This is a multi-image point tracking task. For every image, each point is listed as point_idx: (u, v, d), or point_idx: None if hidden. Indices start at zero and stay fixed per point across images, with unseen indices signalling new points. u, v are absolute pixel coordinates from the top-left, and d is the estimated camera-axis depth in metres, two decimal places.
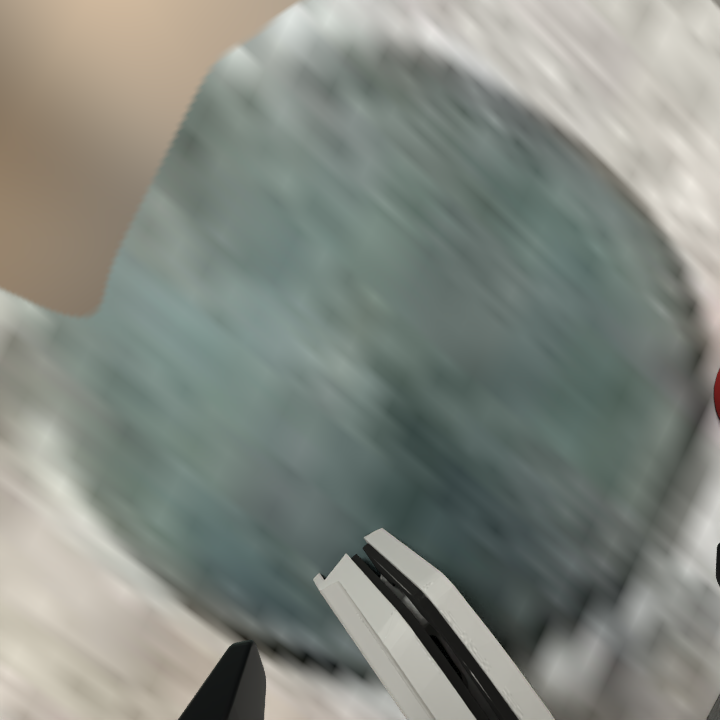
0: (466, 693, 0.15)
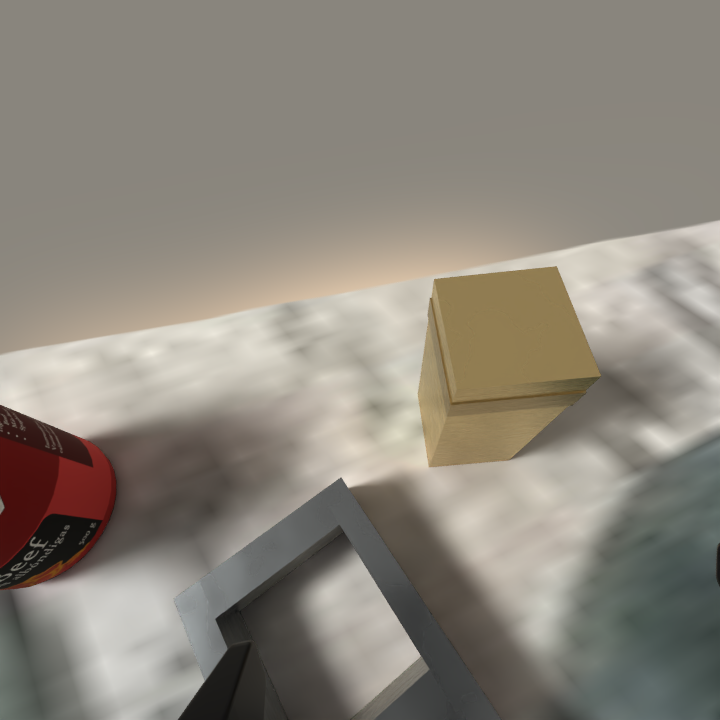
0: None
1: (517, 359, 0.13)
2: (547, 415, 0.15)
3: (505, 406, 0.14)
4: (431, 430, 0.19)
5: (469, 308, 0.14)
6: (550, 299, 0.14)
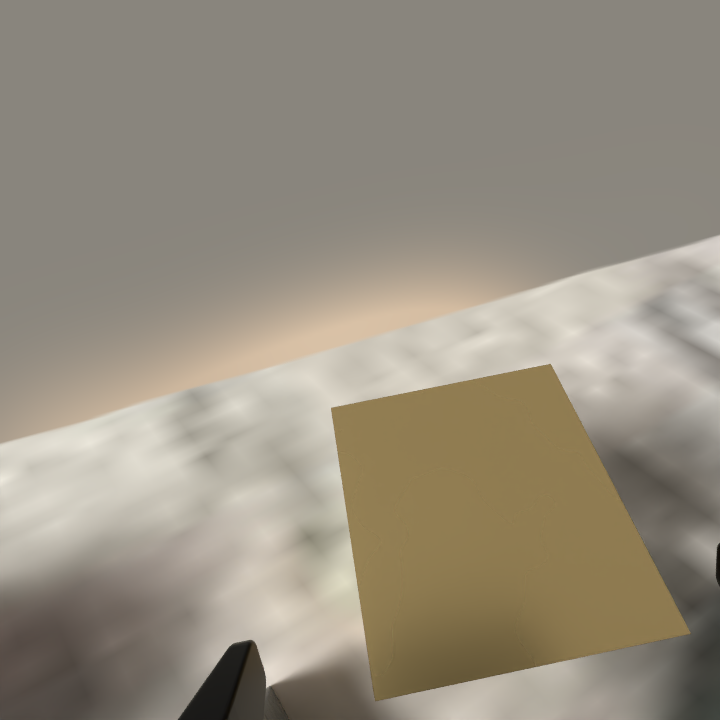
0: None
1: (502, 597, 0.06)
2: None
3: None
4: None
5: (397, 470, 0.07)
6: (550, 437, 0.07)
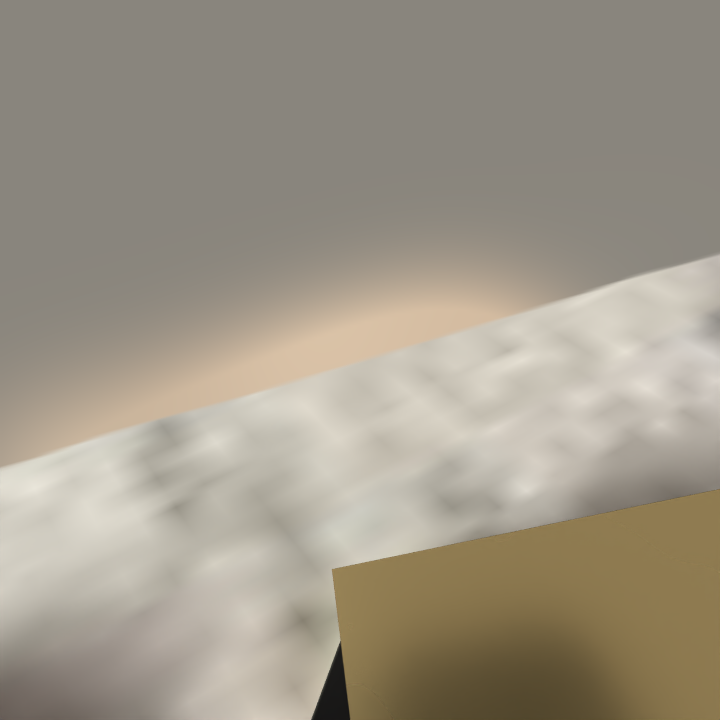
0: None
1: None
2: None
3: None
4: None
5: None
6: None
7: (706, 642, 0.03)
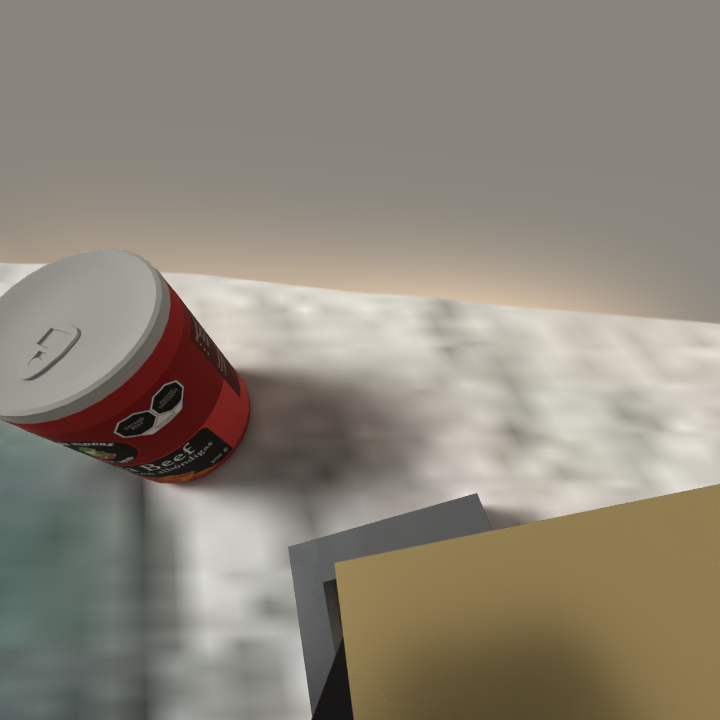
0: None
1: None
2: None
3: None
4: None
5: None
6: None
7: (706, 634, 0.03)
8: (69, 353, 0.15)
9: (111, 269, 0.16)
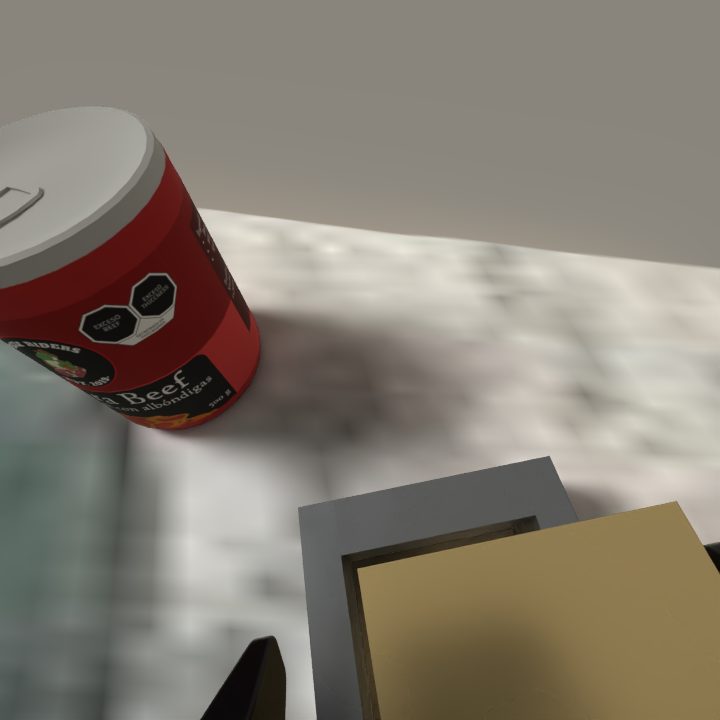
0: None
1: None
2: None
3: None
4: None
5: (465, 693, 0.04)
6: (697, 636, 0.05)
7: (632, 620, 0.05)
8: (24, 214, 0.11)
9: (94, 129, 0.13)
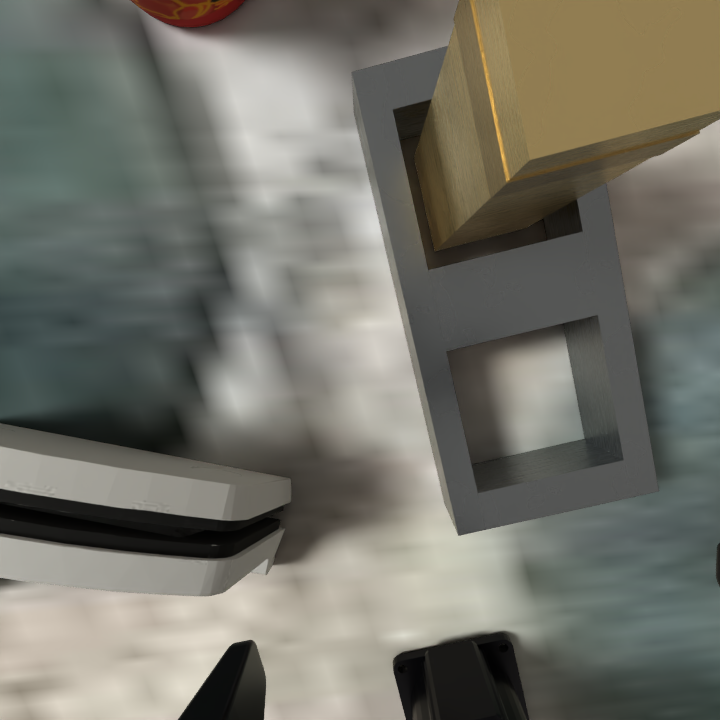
0: None
1: (624, 90, 0.08)
2: (615, 172, 0.11)
3: (576, 171, 0.10)
4: (444, 210, 0.15)
5: None
6: None
7: None
8: None
9: None
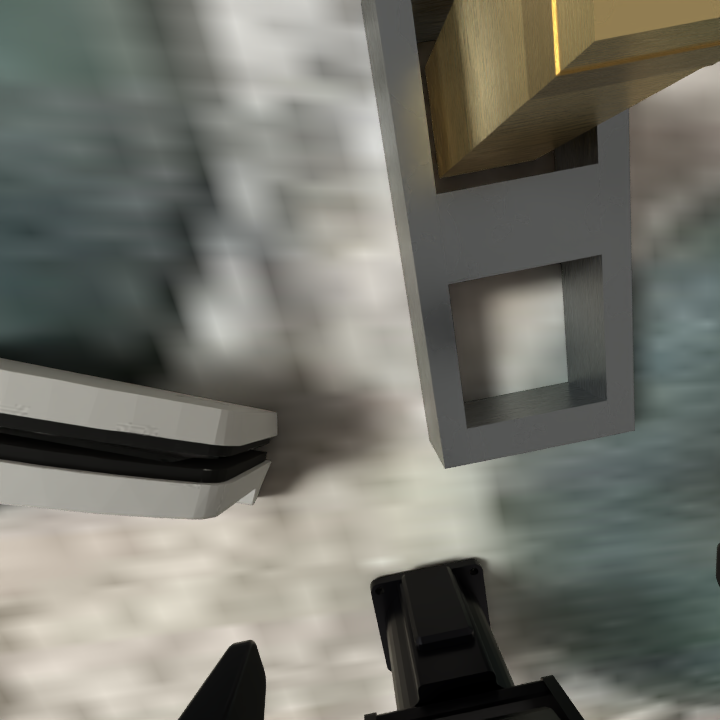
0: None
1: None
2: (656, 86, 0.10)
3: (626, 74, 0.09)
4: (460, 126, 0.14)
5: None
6: None
7: None
8: None
9: None
